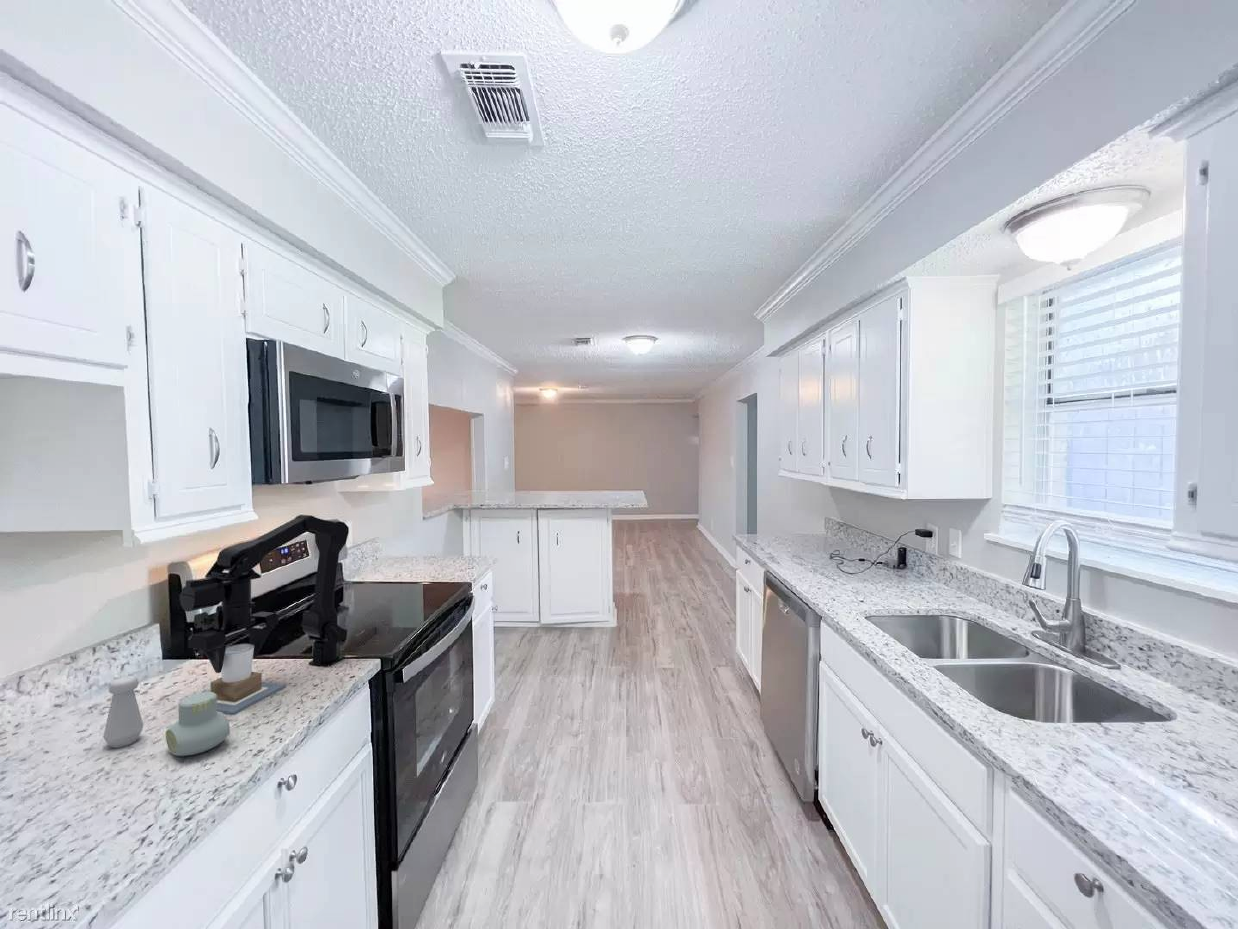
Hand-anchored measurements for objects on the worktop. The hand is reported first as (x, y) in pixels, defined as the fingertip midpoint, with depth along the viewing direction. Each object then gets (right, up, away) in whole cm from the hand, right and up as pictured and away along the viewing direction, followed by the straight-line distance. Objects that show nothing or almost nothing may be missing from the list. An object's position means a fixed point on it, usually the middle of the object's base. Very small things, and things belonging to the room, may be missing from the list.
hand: (236, 664), depth 124 cm
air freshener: (+8, -9, -21) cm, 24 cm away
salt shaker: (-8, -8, -20) cm, 23 cm away
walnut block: (0, -7, 0) cm, 7 cm away
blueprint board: (0, -8, 0) cm, 8 cm away
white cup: (0, -3, 0) cm, 3 cm away
